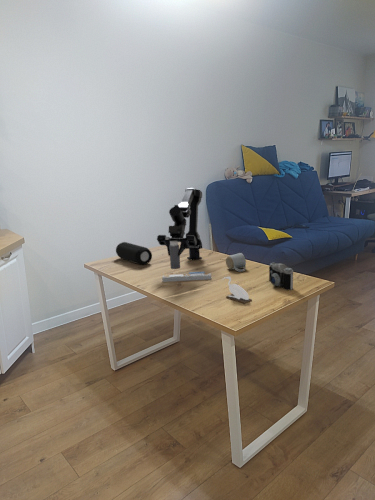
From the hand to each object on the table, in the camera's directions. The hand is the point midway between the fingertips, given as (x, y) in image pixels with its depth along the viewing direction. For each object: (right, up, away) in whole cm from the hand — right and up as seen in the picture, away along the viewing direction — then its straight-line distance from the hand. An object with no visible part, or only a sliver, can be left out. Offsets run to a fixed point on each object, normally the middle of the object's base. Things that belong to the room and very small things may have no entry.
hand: (173, 255), depth 170 cm
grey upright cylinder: (+1, -6, +3) cm, 7 cm away
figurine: (+26, -17, -24) cm, 39 cm away
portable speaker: (-24, -4, +37) cm, 45 cm away
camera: (+46, -13, -12) cm, 50 cm away
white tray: (+6, -11, +4) cm, 13 cm away
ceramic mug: (+32, -7, +14) cm, 36 cm away
